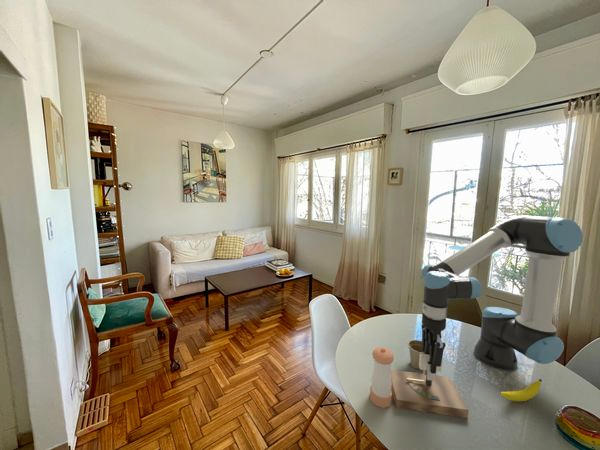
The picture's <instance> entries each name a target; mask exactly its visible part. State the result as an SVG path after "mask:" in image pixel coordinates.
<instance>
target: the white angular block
mask: <svg viewBox="0 0 600 450" xmlns="http://www.w3.org/2000/svg"><path fill="white" fill-rule="evenodd" d="M427 361H428V362H430V355H428V354H420V358H419V368H420V369H419V370H421V371H424V370H427V369H428V363H427ZM442 366H443V361H442V362H441V367H439V366H437V368H436V373H437V372H439V373H441V372H442V368H443V367H442ZM407 381H415V382H423V383H425V381H424V380H419V379H411V378H407ZM426 384H427V385H428V386H431V385H432V380H427V372H426Z"/></svg>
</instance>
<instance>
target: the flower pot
mask: <svg viewBox="0 0 600 450" xmlns="http://www.w3.org/2000/svg"><path fill="white" fill-rule="evenodd" d="M407 346H408V349H409V356H410V360H409V361H410V364H411V366H412V367H413V368H415V369H417V370H420V368H419V358H420V354H424V352H423V351H422V340H420V339H411V340H409V341H408V342H407Z"/></svg>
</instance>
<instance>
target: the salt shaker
mask: <svg viewBox="0 0 600 450" xmlns="http://www.w3.org/2000/svg"><path fill="white" fill-rule="evenodd" d="M372 358H373V360H374V363H373V370H372V371H373V372H372V375H371V384H370V387H369V391H370V392H369V400H370V401H371V403H372V404H373V405H375V406H376V407H379V408H382V409H386V408H389V407H390V406H392V403H393V402H392V401H393V399H392V398H393V392H392V388H391V385H392V382H391V370H392V364H393V362H394V359H395V357H394V354H393V352H392V351H391V350H390V349H388V348H387V347H382V346H379V347H375V348H374V349H373V351H372Z"/></svg>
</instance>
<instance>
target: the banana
mask: <svg viewBox="0 0 600 450" xmlns="http://www.w3.org/2000/svg"><path fill="white" fill-rule="evenodd" d="M541 382H543V380H542V379H541V378H540V379H538V380H537V381H534V382H532V383H531V384H529V386H527V387H526V388H523V389H519V390H512V391H500V394H501V396H502V397H503V398H504V399H506V400H509V401H512V402H520V403H521V402H526V401H529V400H531V399H533V398H534V397H535V396H536V395H537V394H538V393H539V392H540V389H541V386H542V383H541Z"/></svg>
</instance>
